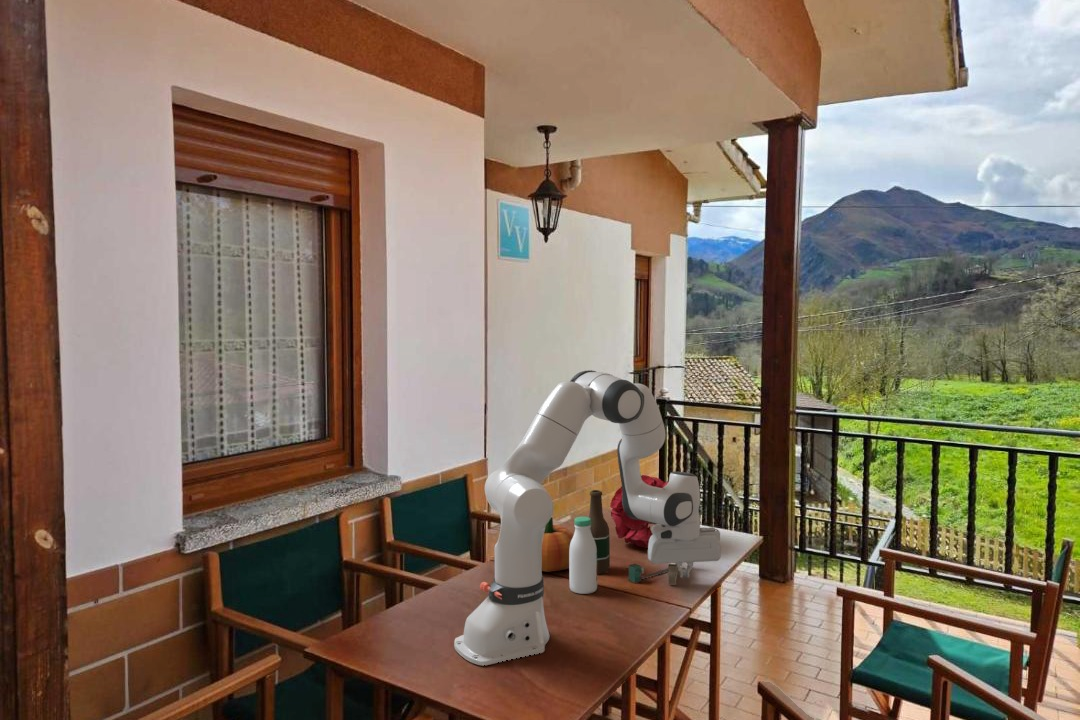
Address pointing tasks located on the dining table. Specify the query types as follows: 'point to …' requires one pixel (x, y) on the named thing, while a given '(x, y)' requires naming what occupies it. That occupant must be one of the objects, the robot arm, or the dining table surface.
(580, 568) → the milk bottle
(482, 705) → the dining table surface
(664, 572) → the grey metal rod
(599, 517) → the beer bottle
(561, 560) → the pumpkin
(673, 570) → the grey rectangular bar
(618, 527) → the bouquet
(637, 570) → the dark green brushed box
